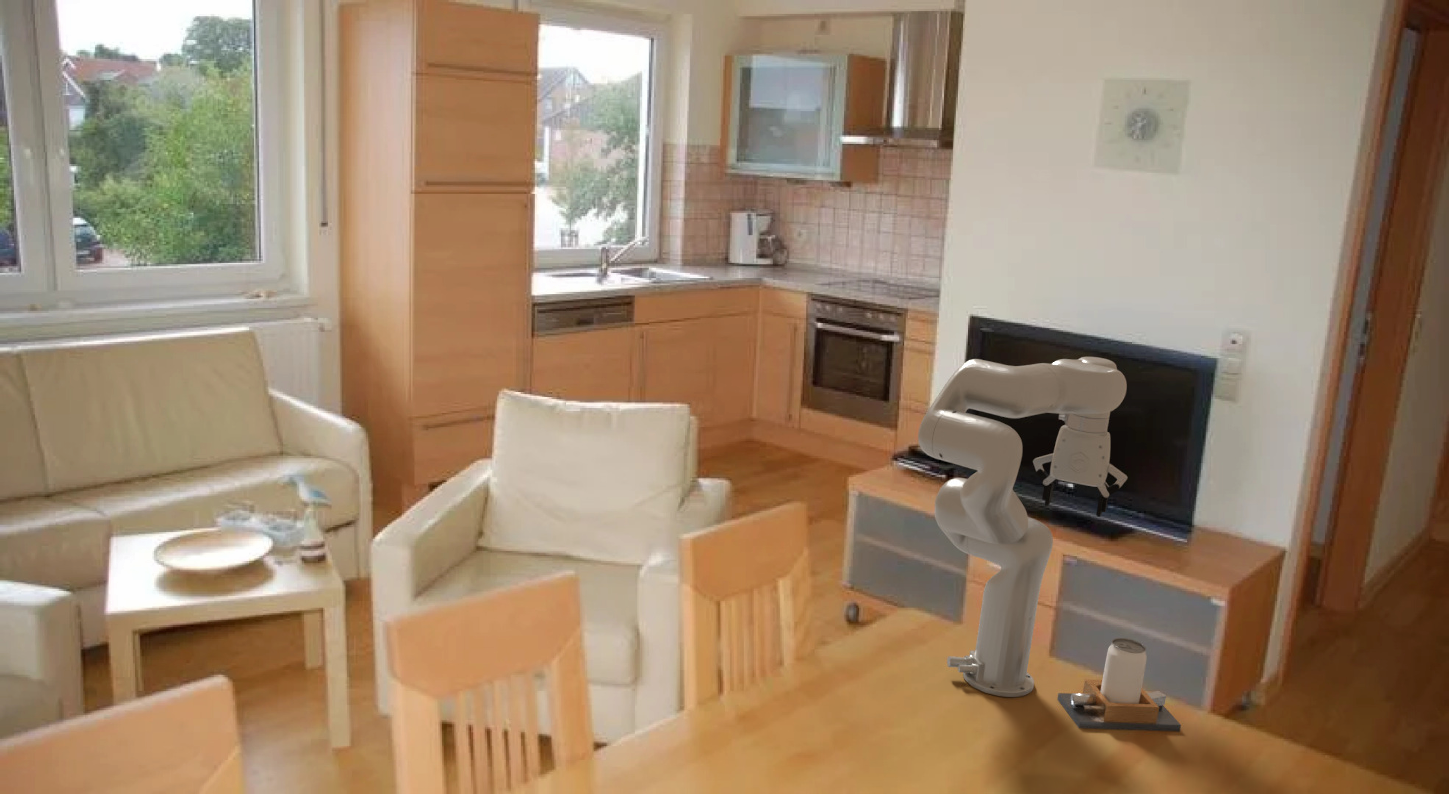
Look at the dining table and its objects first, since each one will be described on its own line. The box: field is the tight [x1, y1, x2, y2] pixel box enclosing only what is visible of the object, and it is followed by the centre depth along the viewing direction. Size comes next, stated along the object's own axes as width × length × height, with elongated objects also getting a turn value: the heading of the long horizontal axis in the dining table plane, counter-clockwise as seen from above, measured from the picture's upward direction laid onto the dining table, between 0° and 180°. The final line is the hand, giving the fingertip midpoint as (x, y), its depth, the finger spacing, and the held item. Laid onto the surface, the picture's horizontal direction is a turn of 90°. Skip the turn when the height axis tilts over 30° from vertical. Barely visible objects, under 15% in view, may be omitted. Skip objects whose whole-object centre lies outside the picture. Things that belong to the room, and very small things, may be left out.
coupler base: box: [1057, 678, 1182, 732], centre depth 203 cm, size 18×10×4 cm, turn 95°
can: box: [1101, 637, 1148, 704], centre depth 202 cm, size 6×6×12 cm
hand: (1073, 509), depth 223 cm, fingers open, 9 cm apart
